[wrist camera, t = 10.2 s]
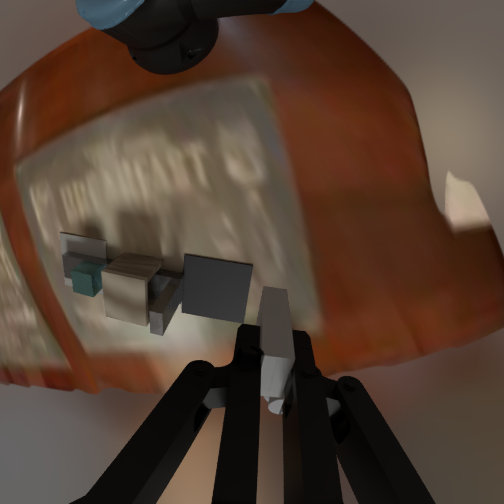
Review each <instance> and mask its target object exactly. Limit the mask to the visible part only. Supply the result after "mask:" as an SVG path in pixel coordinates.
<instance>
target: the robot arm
mask: <svg viewBox="0 0 504 504" xmlns="http://www.w3.org/2000/svg"><path fill="white" fill-rule="evenodd" d="M313 1H314V0H76V8H77V11H78V13H79V15H80V16H81V17H82V18H83V19H85V20H86V21H88V22H89V23H90V24H91V26H92V27H94V28H96V29H98V30H100V31H102V32H104V33H106V34H108V35H110V36H111V37H113V38H115V39H117V40H119V41H120V42H122V43H124V44H126V45H127V47H128V50H129V53H130V55H131V57H132V59H133V60H134V61H135V62H136V63H137V64H138V65H139V66H140V67H142V68H144V69H145V70H147V71H149V72H152V73H155V74H162V75H168V74H175V73H179V72H183V71H185V70H188V69H190V68H192V67H193V66H195V65H197V64H198V63H199V62H201V61H202V60H203V59H204V58H205V57H206V56H207V55H208V54H209V53H210V51H211V50H212V48H213V47H214V45H215V43H216V40H217V37H218V22H217V20H216V18H223V17H231V16H241V15H254V14H268V15H274V14H278V13H290V12H300V11H303V10H304V9H307V8H308V7H309V6H310V5H311V4H312V3H313ZM283 393H284V401H283V404H282V406H281V409H280V412H279V415H281V414H282V418H283V462H284V504H344V503H343V499H342V492H341V485H340V477H339V472H338V471H339V470H338V464H337V457H338V460H339V462H340V464H341V466H342V468H343V471H344V473H345V475H346V477H347V479H348V481H349V484H350V486H351V488H352V490H353V492H354V495H355V497H356V499H357V501H358V503H359V504H435V502H434V500H433V498H432V497H431V495H430V493H429V492H428V490H427V488H426V487H425V485H424V483H423V482H422V480H421V478H420V476H419V475H418V473H417V471H416V470H415V468H414V467H413V465H412V463H411V462H410V460H409V458H408V457H407V455H406V453H405V452H404V450H403V449H402V447H401V445H400V444H399V442H398V440H397V439H396V437H395V436H394V434H393V432H392V431H391V429H390V427H389V426H388V424H387V423H386V421H385V419H384V418H383V416H382V415H381V413H380V411H379V410H378V408H377V407H376V405H375V404H374V402H373V401H372V399H371V397H370V396H369V394H368V392H367V391H366V389H365V388H364V386H363V385H362V383H361V382H360V381H359V380H358V379H356V378H354V377H351V376H343V377H340V378H339V379H338V381H335V380H331V379H328V378H326V377H324V376H322V374H321V371H320V370H319V369H318V368H317V367H316V365H315V360H314V355H313V350H312V345H311V339H310V337H309V335H308V334H307V333H306V331H298V330H292V327H291V318H290V310H289V302H288V294H287V290H286V289H279V288H273V287H266V286H263V291H262V296H261V302H260V307H259V312H258V317H257V323H256V325H249V324H242V325H241V326H240V327H239V328H238V331H237V337H236V344H235V350H234V357H233V360H232V362H231V363H230V364H228V365H226V366H223V367H214V366H213V365H212V364H211V363H209V362H207V361H203V360H195V361H192V362H190V363H189V364H188V365H187V366H186V367H185V368H184V370H183V371H182V372H181V374H180V375H179V376H178V378H177V379H176V380H175V382H174V383H173V384H172V386H171V387H170V388H169V390H168V391H167V392H166V393H165V395H164V396H163V397H162V399H161V400H160V401H159V403H158V404H157V405H156V407H155V408H154V409H153V410H152V412H151V413H150V414H149V416H148V417H147V418H146V420H145V421H144V422H143V424H142V425H141V426H140V427H139V429H138V430H137V431H136V433H135V434H134V435H133V436H132V438H131V439H130V440H129V441H128V443H127V444H126V445H125V447H124V448H123V449H122V450H121V452H120V453H119V454H118V456H117V457H116V458H115V459H114V461H113V462H112V463H111V464H110V466H109V467H108V468H107V469H106V471H105V472H104V473H103V474H102V476H101V477H100V478H99V479H98V481H97V482H96V483H95V485H94V486H93V487H92V488H91V489H90V491H89V492H88V493H87V494H86V495H85V496H83V497H82V498H79V499H77V500H75V501H73V502H71V503H69V504H156V503H157V501H158V499H159V498H160V496H161V495H162V493H163V491H164V490H165V488H166V487H167V485H168V483H169V482H170V480H171V478H172V477H173V475H174V473H175V472H176V470H177V468H178V467H179V465H180V463H181V462H182V460H183V458H184V457H185V455H186V453H187V452H188V450H189V448H190V447H191V445H192V443H193V441H194V440H195V438H196V436H197V434H198V433H199V431H200V429H201V427H202V426H203V424H204V422H205V420H206V419H207V417H208V415H209V413H210V411H211V409H212V408H221V407H226V409H225V415H224V422H223V428H222V429H223V430H222V435H221V442H220V449H219V456H218V462H217V469H216V476H215V483H214V490H213V496H212V503H211V504H256V493H257V474H258V450H259V424H260V422H259V421H260V396H268V397H278V398H282V396H283ZM336 455H337V457H336Z"/></svg>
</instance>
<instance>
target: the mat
mask: <svg viewBox="0 0 504 504" xmlns="http://www.w3.org/2000/svg"><path fill="white" fill-rule="evenodd" d="M60 242H61V253H62V255H63V254H64V253H66V252H67V251H69V252H74V253H79V254H83V255H88V256H93V257H98V258H103V259H107V252H106V241H104V240H98V239H93V238H87V237H82V236H76V235H71V234H65V233H60ZM62 262H63V260H62ZM63 271H64V268H63ZM64 278H65V276H64ZM65 285H69V286H72V287H73V285H72V279H69V278H65ZM98 294H102V295H103V288H102V289H101V290H100V291H99V292H98Z"/></svg>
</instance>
